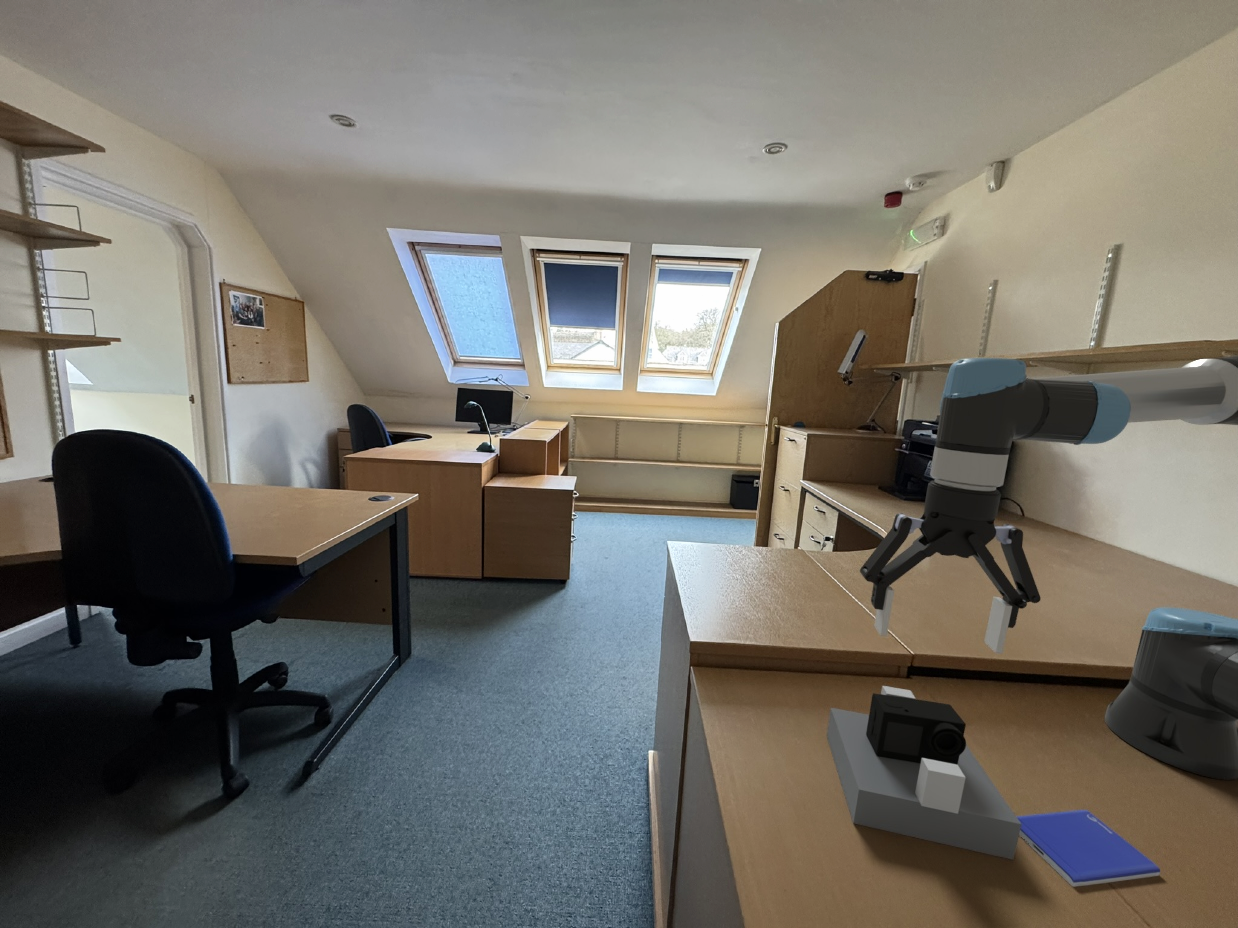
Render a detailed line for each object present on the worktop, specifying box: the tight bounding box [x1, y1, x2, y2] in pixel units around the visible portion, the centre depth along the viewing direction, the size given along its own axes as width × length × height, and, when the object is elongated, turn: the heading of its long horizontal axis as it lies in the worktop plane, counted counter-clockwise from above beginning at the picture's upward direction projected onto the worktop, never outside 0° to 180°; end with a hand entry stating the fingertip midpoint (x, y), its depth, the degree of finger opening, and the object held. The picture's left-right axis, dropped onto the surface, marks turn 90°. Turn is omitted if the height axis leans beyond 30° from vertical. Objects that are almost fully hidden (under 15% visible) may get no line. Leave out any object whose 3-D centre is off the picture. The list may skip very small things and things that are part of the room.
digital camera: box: [866, 692, 967, 765], centre depth 66 cm, size 10×5×7 cm, turn 81°
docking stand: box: [826, 685, 1022, 860], centre depth 66 cm, size 18×17×10 cm
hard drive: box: [1016, 809, 1161, 888], centre depth 59 cm, size 2×8×12 cm
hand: (935, 639), depth 63 cm, fingers open, 13 cm apart
